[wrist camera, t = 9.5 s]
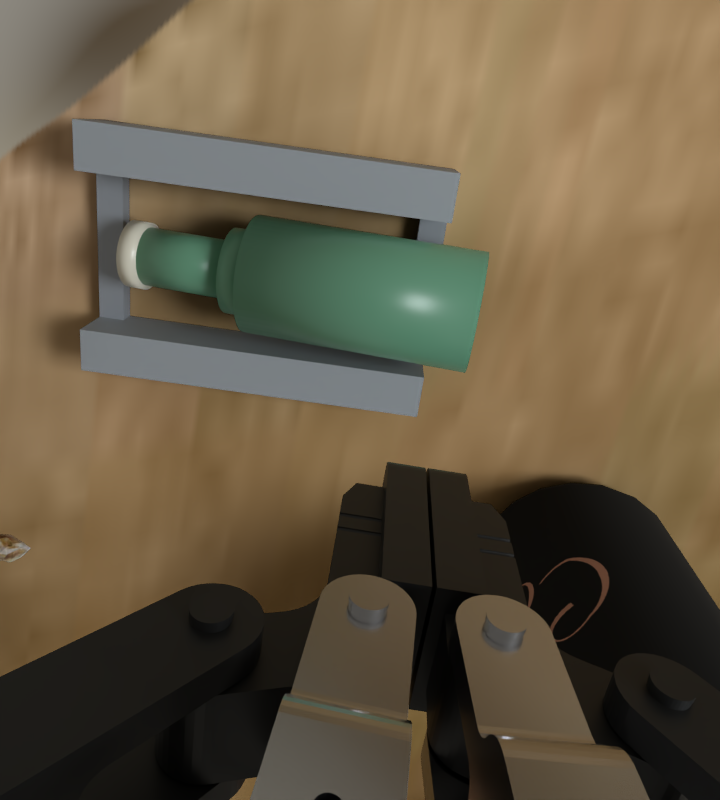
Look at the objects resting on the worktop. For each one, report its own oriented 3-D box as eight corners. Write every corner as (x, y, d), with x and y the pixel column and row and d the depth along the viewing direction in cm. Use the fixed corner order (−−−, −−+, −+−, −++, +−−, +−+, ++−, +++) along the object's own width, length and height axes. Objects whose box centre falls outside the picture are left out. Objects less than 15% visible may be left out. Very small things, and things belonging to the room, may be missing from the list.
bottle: (489, 263, 25) (101, 199, 27) (463, 389, 27) (103, 322, 29) (488, 244, 30) (159, 191, 31) (465, 352, 32) (157, 297, 33)
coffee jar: (544, 438, 35) (680, 726, 18) (705, 529, 36) (966, 871, 20) (435, 579, 38) (464, 925, 22) (584, 656, 40) (717, 1032, 23)
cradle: (454, 169, 30) (460, 173, 27) (415, 393, 34) (416, 416, 31) (102, 119, 30) (72, 118, 27) (106, 350, 34) (81, 369, 31)
